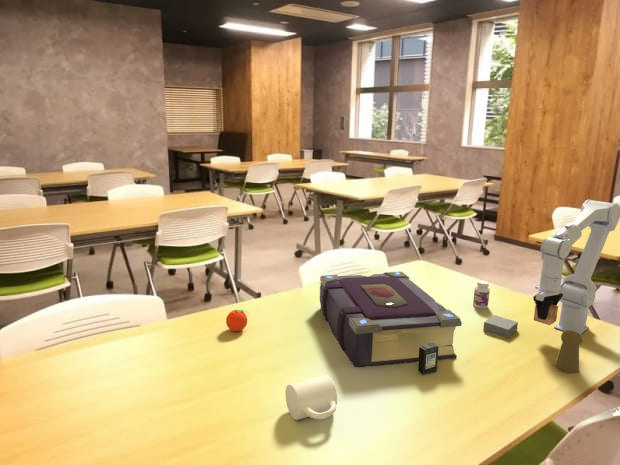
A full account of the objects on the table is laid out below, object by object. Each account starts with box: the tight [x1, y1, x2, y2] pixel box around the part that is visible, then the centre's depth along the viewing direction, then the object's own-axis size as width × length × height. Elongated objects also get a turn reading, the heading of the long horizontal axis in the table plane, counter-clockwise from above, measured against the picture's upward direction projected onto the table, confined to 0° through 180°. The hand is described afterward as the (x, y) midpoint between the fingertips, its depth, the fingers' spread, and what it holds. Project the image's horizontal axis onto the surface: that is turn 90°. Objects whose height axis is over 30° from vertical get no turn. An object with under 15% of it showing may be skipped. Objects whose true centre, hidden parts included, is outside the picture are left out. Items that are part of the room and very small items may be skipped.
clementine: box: [225, 309, 249, 332], centre depth 151 cm, size 8×7×7 cm
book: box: [319, 271, 463, 368], centre depth 152 cm, size 33×45×14 cm
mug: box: [284, 374, 338, 421], centre depth 107 cm, size 12×10×8 cm
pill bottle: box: [472, 280, 491, 309], centre depth 174 cm, size 5×5×10 cm
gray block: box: [482, 314, 519, 339], centre depth 154 cm, size 8×8×4 cm
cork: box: [554, 331, 583, 375], centre depth 130 cm, size 6×6×11 cm
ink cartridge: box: [417, 343, 439, 376], centre depth 127 cm, size 5×2×8 cm, turn 117°
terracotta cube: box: [533, 305, 559, 326], centre depth 146 cm, size 5×5×5 cm
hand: (545, 316), depth 146 cm, fingers closed on terracotta cube, 5 cm apart
